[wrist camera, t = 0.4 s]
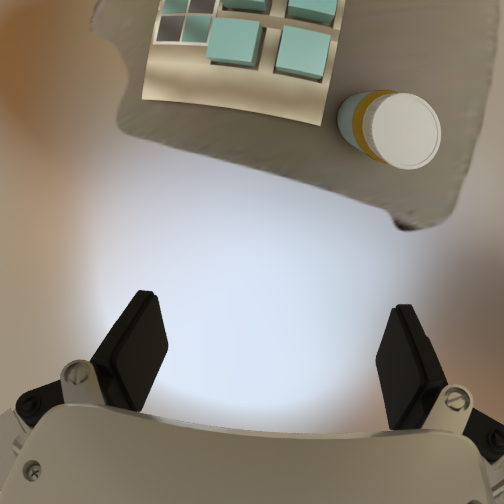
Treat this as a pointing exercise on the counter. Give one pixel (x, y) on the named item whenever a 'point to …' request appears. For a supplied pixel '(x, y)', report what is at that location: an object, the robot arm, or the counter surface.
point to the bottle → (391, 127)
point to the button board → (234, 75)
